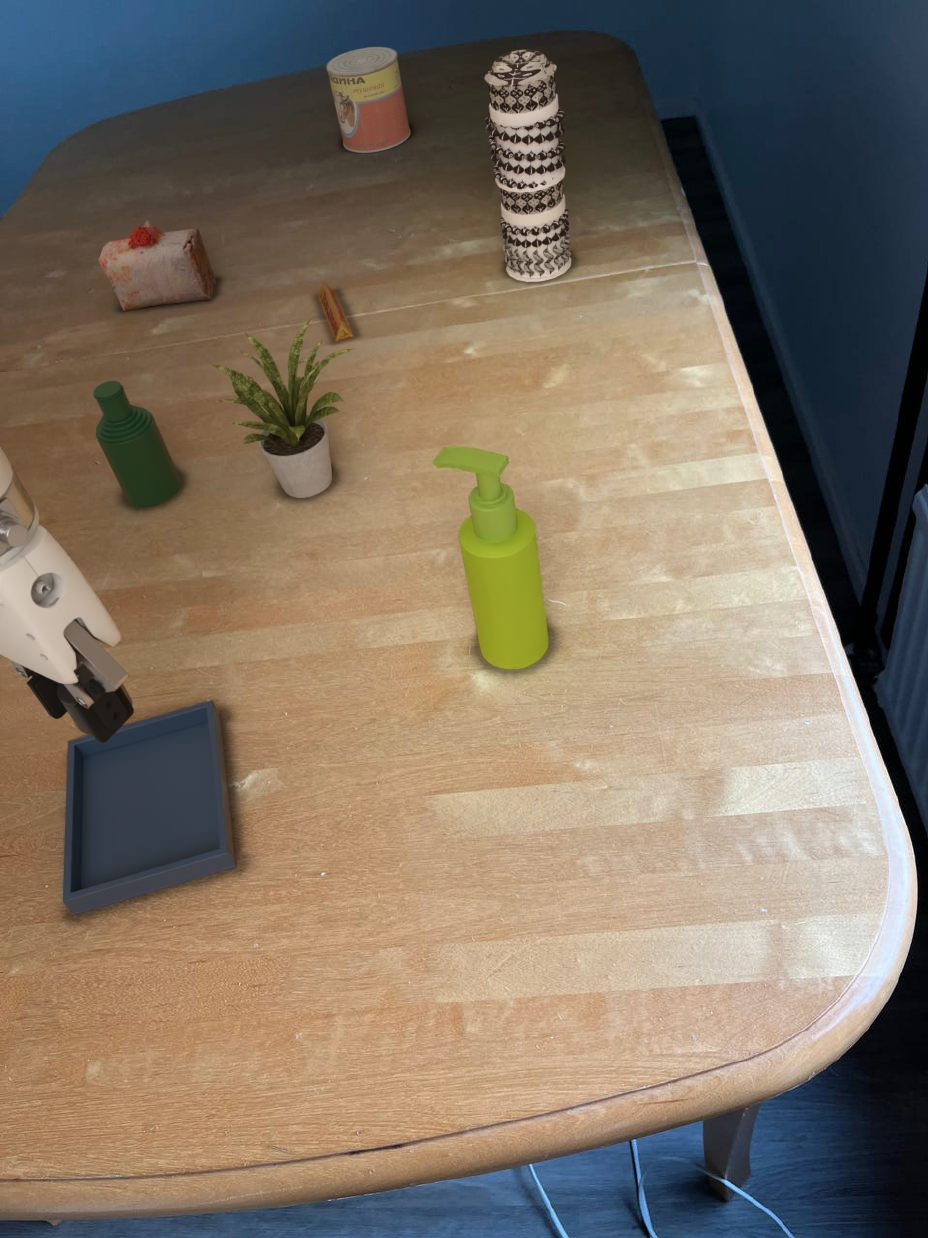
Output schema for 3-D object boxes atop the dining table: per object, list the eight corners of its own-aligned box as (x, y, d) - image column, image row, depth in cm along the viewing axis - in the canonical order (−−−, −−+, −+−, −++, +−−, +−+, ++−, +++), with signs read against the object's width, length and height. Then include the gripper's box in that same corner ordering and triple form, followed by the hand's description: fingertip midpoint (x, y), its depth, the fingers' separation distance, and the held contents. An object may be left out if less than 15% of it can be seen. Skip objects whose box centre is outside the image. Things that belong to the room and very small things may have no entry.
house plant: (378, 425, 112) (345, 289, 100) (393, 503, 103) (358, 363, 91) (251, 453, 112) (203, 320, 100) (254, 534, 102) (201, 397, 91)
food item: (114, 317, 138) (84, 249, 131) (128, 288, 144) (100, 220, 137) (210, 305, 137) (186, 235, 130) (221, 275, 142) (198, 207, 135)
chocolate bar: (335, 343, 125) (330, 327, 124) (317, 299, 134) (313, 283, 132) (355, 337, 126) (351, 321, 124) (336, 294, 134) (332, 278, 132)
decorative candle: (522, 293, 127) (500, 80, 109) (491, 264, 134) (465, 58, 116) (587, 269, 129) (575, 56, 111) (553, 242, 135) (537, 36, 117)
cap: (135, 723, 71) (116, 691, 69) (77, 743, 71) (56, 712, 69) (130, 684, 74) (113, 652, 72) (75, 703, 74) (55, 671, 72)
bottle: (115, 502, 109) (64, 401, 100) (150, 468, 113) (104, 367, 103) (158, 513, 107) (109, 411, 98) (192, 478, 110) (149, 376, 101)
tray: (237, 869, 76) (228, 852, 74) (75, 917, 75) (62, 902, 73) (221, 716, 86) (212, 699, 85) (79, 757, 85) (67, 740, 84)
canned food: (329, 144, 169) (312, 66, 161) (381, 119, 174) (366, 42, 165) (372, 158, 163) (355, 78, 154) (424, 131, 167) (411, 52, 159)
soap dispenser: (487, 610, 90) (454, 425, 76) (559, 629, 88) (539, 441, 73) (458, 658, 87) (417, 474, 73) (532, 678, 84) (505, 491, 70)
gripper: (109, 514, 57) (215, 717, 70) (-72, 449, 65) (54, 642, 78) (7, 603, 53) (139, 800, 66) (-173, 522, 61) (-23, 713, 74)
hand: (92, 713), depth 72 cm, fingers closed on cap, 4 cm apart
